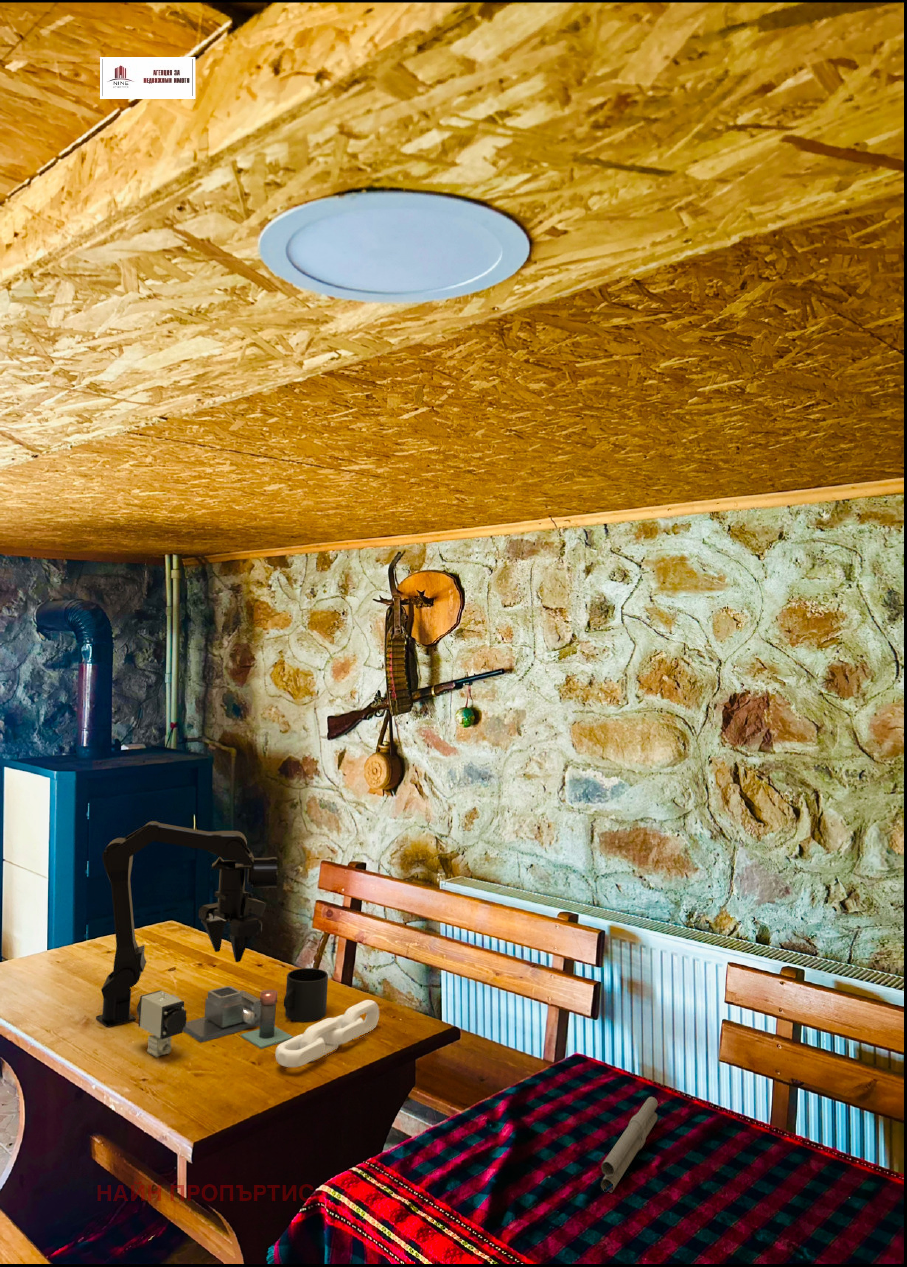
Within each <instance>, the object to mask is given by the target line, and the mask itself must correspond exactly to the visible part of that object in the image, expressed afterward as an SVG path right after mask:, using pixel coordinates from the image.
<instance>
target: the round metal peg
mask: <svg viewBox="0 0 907 1267" xmlns="http://www.w3.org/2000/svg"><path fill="white" fill-rule="evenodd" d="M278 992H279V991H278V990H275V989H264V990H261V991H260V998H259V999H260V1003H261V1011H260V1025H259V1026H258V1027H259V1028H258V1029H259V1037H260V1038H265V1039H267V1038H272V1037H273V1036H274V1029H275V1027H276V1026H275V1025H276V1011H277V1010H276V1009H277V1003H278Z"/></svg>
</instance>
